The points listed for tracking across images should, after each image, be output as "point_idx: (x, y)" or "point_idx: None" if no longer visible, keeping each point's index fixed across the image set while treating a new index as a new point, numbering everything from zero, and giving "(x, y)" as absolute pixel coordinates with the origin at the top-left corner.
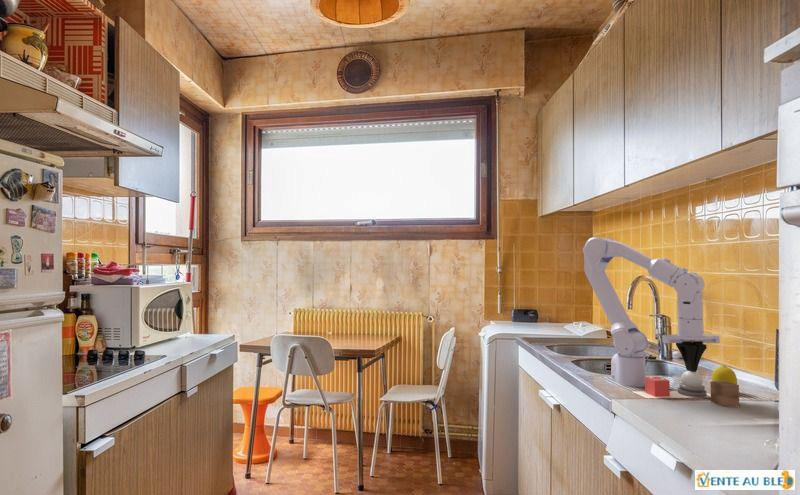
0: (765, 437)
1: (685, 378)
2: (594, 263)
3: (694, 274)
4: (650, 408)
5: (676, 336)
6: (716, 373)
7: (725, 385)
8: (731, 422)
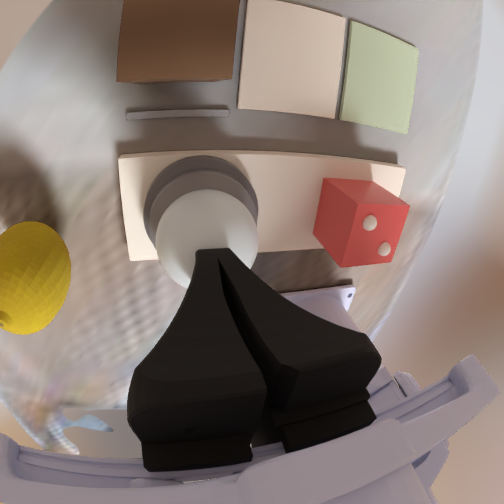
0: None
1: (256, 231)
2: None
3: None
4: (428, 108)
5: (473, 415)
6: (49, 291)
7: None
8: None
